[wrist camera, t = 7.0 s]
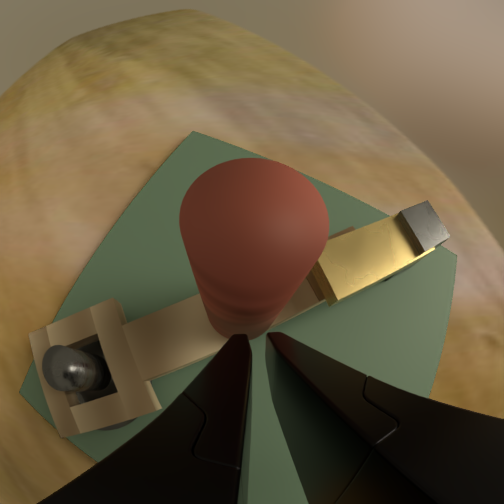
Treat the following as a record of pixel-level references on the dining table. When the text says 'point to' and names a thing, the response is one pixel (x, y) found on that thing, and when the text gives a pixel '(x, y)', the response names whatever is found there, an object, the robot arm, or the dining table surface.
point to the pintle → (81, 374)
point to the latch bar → (203, 288)
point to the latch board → (300, 328)
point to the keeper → (377, 252)
